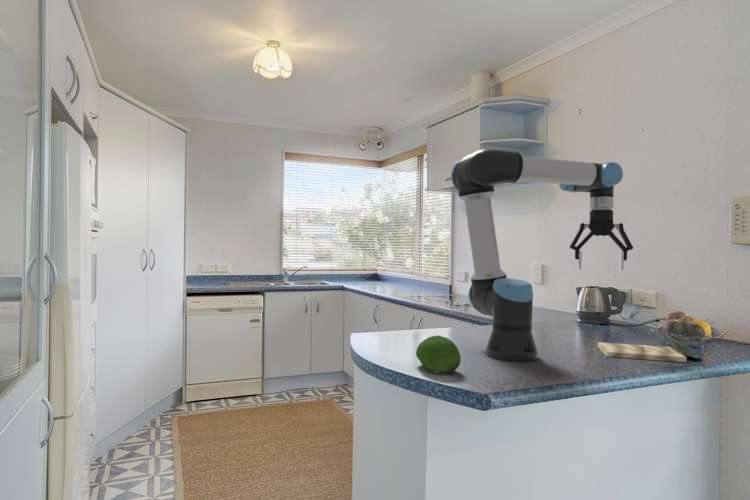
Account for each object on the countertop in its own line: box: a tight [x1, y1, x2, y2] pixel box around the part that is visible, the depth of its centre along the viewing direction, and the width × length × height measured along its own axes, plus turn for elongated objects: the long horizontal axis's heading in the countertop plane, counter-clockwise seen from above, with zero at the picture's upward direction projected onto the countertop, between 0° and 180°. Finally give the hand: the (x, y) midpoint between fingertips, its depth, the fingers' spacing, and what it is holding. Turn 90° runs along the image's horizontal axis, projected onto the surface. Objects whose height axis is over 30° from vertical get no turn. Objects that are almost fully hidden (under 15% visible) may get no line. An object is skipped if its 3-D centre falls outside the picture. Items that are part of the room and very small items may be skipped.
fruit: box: [415, 335, 462, 374], centre depth 126 cm, size 15×10×10 cm, turn 22°
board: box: [597, 341, 688, 363], centre depth 153 cm, size 22×16×2 cm
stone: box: [664, 334, 701, 359], centre depth 149 cm, size 11×4×10 cm
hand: (600, 269), depth 167 cm, fingers open, 13 cm apart
